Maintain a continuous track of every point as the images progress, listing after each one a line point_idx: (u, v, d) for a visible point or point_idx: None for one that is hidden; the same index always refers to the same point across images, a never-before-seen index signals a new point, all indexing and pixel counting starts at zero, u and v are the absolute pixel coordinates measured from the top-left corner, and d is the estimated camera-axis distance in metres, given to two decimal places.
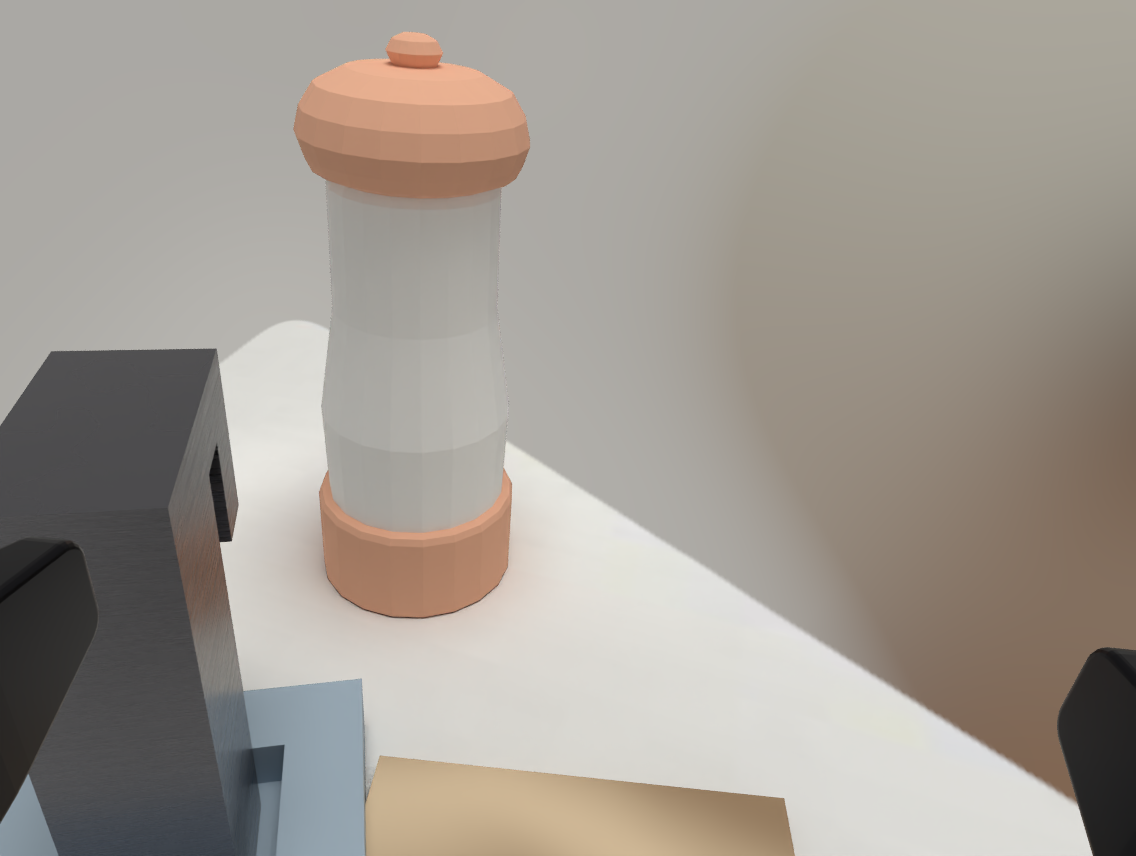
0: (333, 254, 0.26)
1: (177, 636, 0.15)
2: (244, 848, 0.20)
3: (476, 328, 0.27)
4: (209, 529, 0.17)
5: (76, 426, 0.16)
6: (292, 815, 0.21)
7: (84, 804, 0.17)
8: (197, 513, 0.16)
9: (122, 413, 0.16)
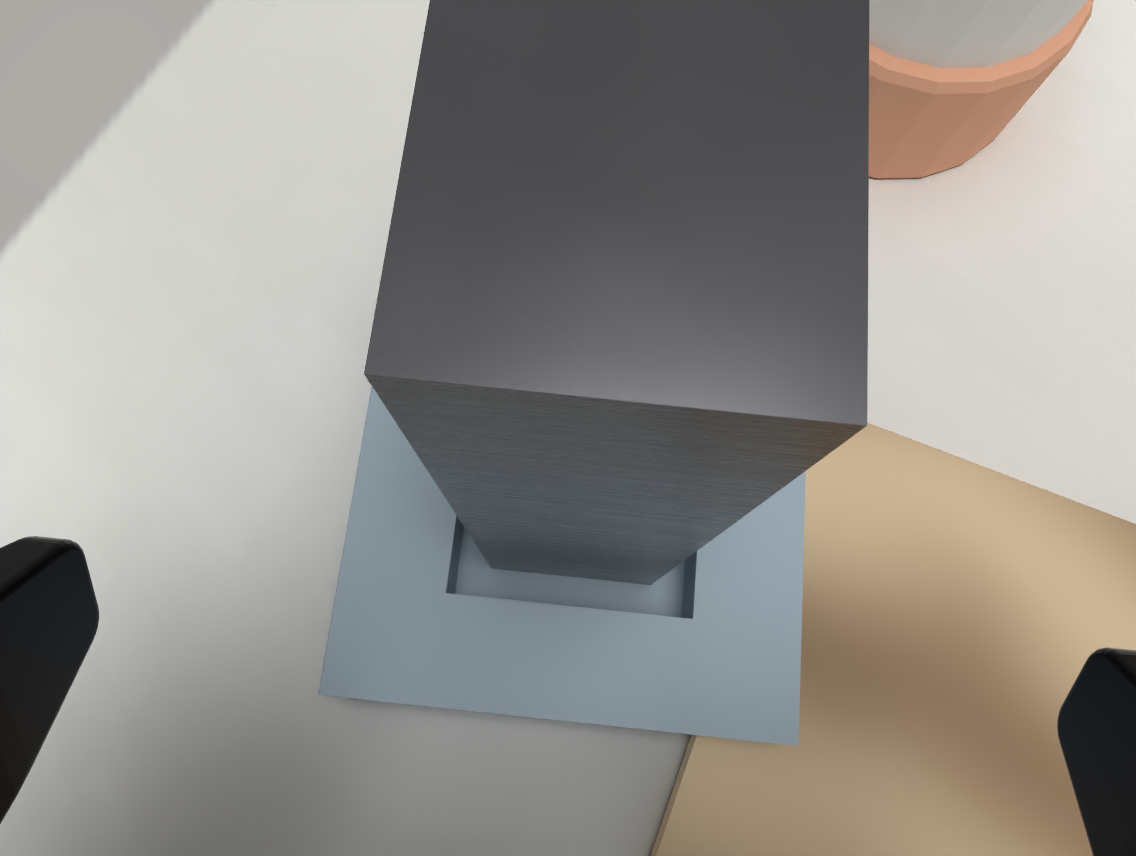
0: None
1: (736, 501, 0.08)
2: None
3: None
4: None
5: (598, 42, 0.06)
6: None
7: (518, 537, 0.13)
8: None
9: (692, 1, 0.06)
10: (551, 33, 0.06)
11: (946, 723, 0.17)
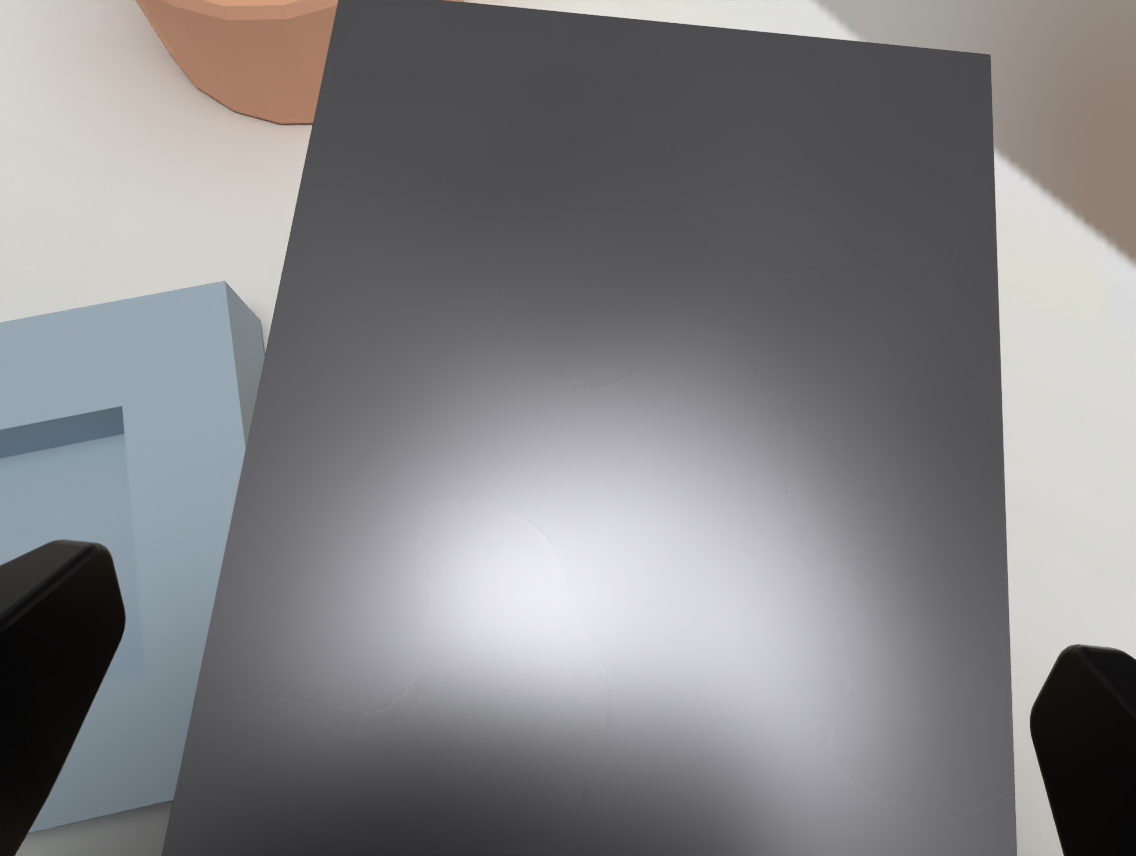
0: None
1: None
2: None
3: None
4: None
5: (517, 689, 0.03)
6: (151, 521, 0.15)
7: None
8: None
9: (691, 597, 0.04)
10: (433, 667, 0.04)
11: None
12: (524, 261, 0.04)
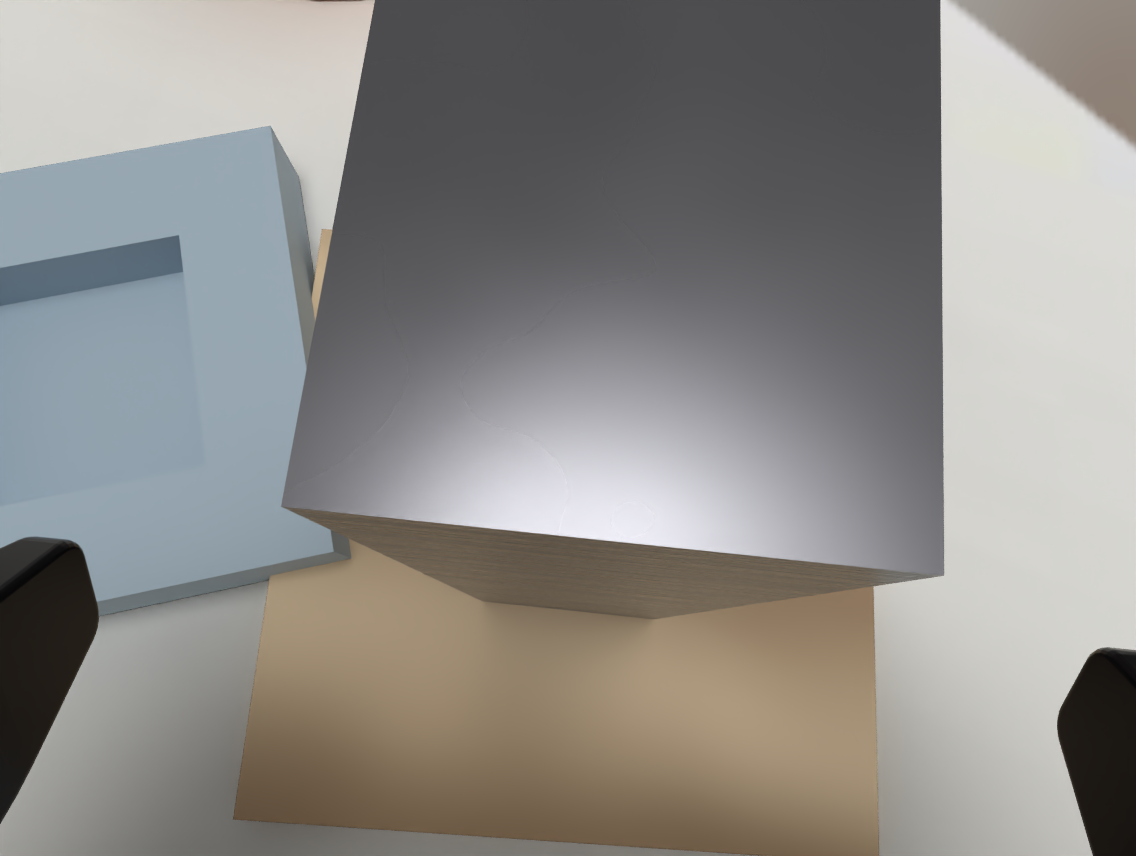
0: None
1: (758, 595, 0.07)
2: None
3: None
4: None
5: (589, 56, 0.05)
6: (208, 335, 0.16)
7: (507, 591, 0.11)
8: None
9: (713, 4, 0.05)
10: (531, 44, 0.05)
11: None
12: None
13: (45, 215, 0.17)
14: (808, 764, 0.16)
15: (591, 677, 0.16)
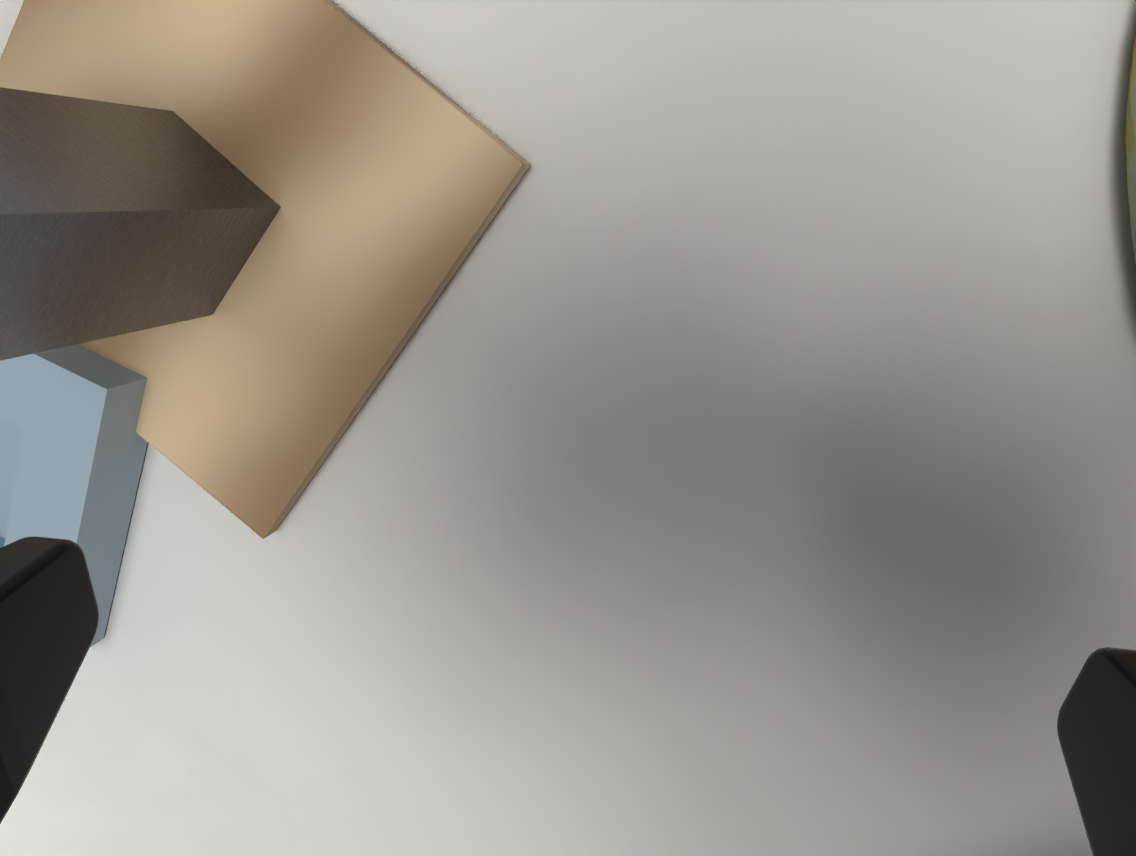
0: None
1: None
2: (203, 180, 0.18)
3: None
4: None
5: None
6: None
7: (52, 322, 0.16)
8: None
9: None
10: None
11: None
12: None
13: None
14: (432, 166, 0.19)
15: (295, 277, 0.20)
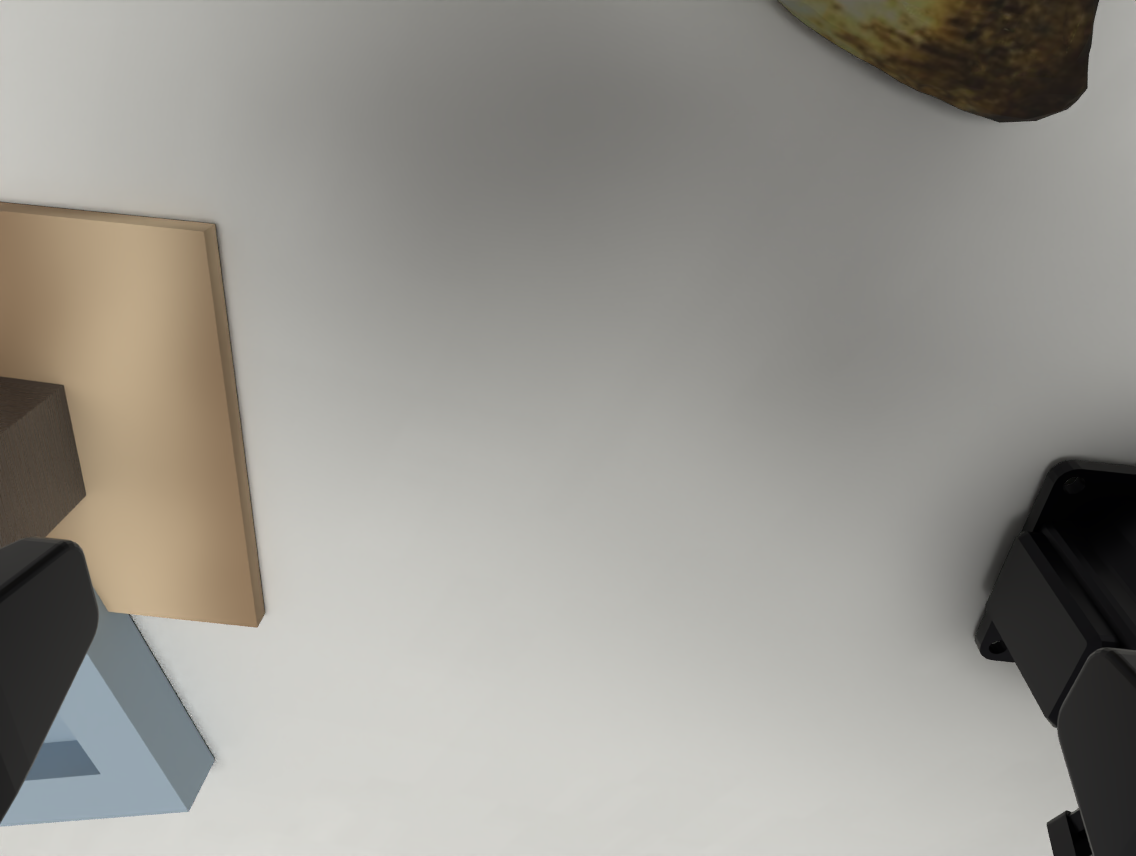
0: None
1: None
2: None
3: None
4: None
5: None
6: None
7: None
8: None
9: None
10: None
11: None
12: None
13: None
14: (141, 279, 0.19)
15: (118, 429, 0.22)
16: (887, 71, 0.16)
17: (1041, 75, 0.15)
